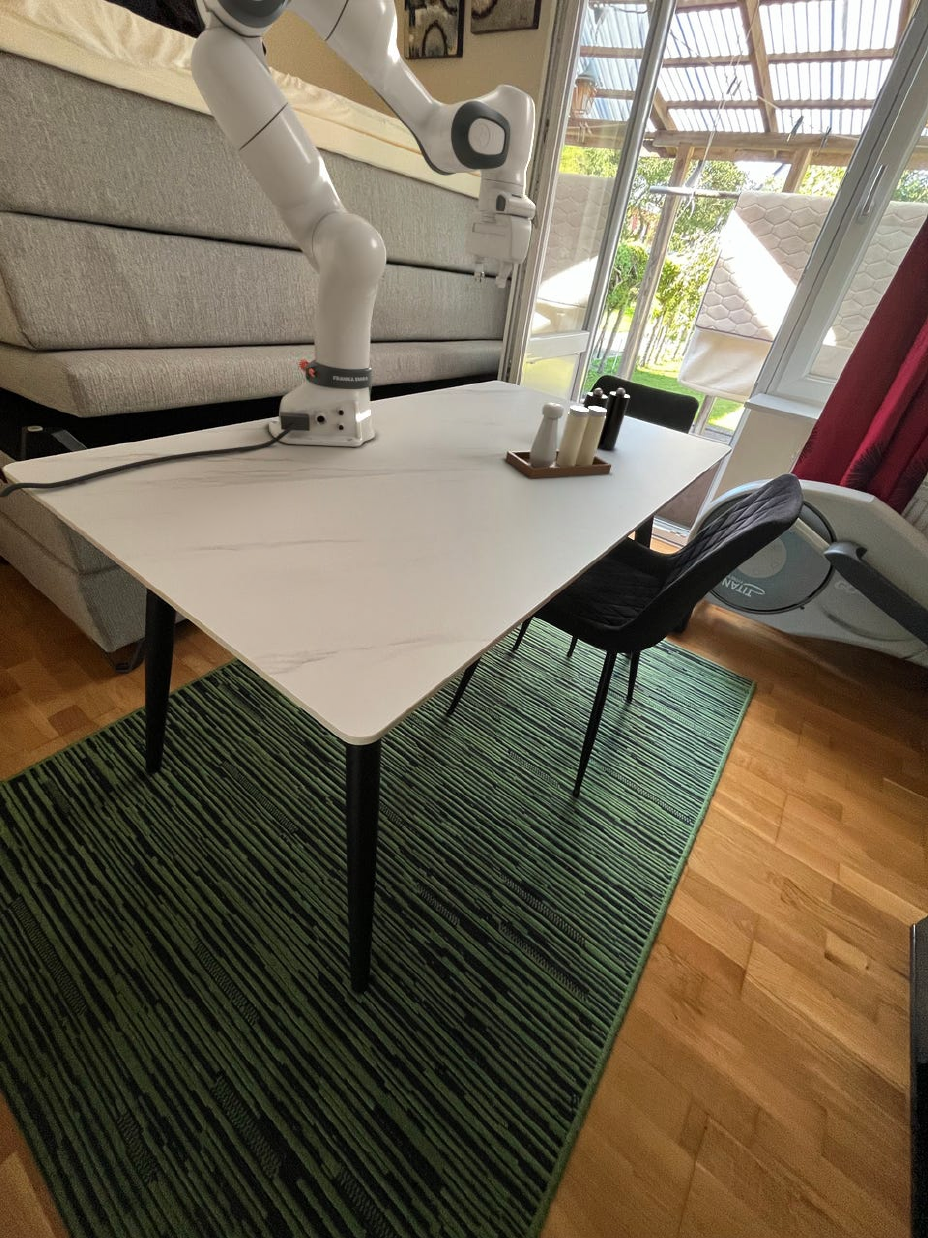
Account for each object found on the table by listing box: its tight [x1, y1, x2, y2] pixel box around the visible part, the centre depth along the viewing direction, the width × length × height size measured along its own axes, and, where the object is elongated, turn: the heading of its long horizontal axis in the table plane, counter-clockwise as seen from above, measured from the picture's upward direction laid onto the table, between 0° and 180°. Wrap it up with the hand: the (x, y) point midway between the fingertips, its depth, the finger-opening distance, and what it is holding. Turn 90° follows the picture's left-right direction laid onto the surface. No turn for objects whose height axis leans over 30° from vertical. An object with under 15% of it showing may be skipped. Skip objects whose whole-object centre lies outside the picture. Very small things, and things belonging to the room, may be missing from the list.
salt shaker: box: [529, 402, 564, 468], centre depth 110 cm, size 6×6×13 cm
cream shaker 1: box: [556, 405, 589, 466], centre depth 113 cm, size 4×4×12 cm
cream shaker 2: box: [576, 406, 607, 466], centre depth 116 cm, size 4×4×12 cm
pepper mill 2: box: [597, 387, 631, 451], centre depth 130 cm, size 5×5×14 cm
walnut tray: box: [505, 449, 612, 479], centre depth 116 cm, size 22×11×2 cm, turn 117°
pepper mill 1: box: [582, 387, 609, 409], centre depth 126 cm, size 5×5×14 cm
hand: (488, 284), depth 111 cm, fingers open, 8 cm apart
